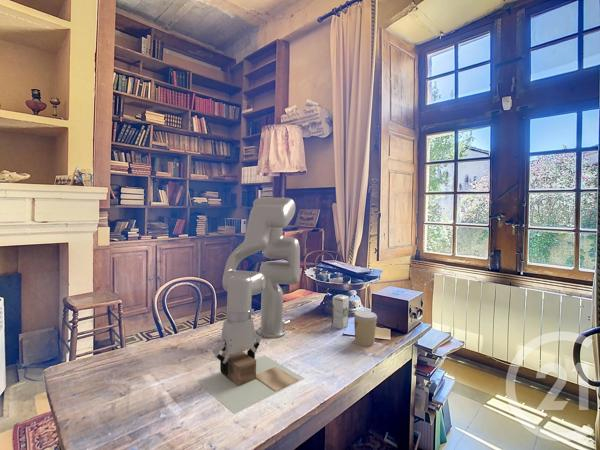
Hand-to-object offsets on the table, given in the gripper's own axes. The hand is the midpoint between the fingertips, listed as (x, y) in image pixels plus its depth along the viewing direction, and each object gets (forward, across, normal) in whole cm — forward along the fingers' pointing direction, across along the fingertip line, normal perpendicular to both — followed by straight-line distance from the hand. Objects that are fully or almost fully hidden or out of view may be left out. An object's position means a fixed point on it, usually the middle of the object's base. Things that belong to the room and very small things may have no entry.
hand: (238, 368), depth 100 cm
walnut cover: (+3, 0, 0) cm, 3 cm away
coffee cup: (+3, -55, +10) cm, 56 cm away
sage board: (+4, -2, +4) cm, 6 cm away
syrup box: (+3, -61, -8) cm, 62 cm away
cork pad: (+3, -8, +9) cm, 12 cm away
